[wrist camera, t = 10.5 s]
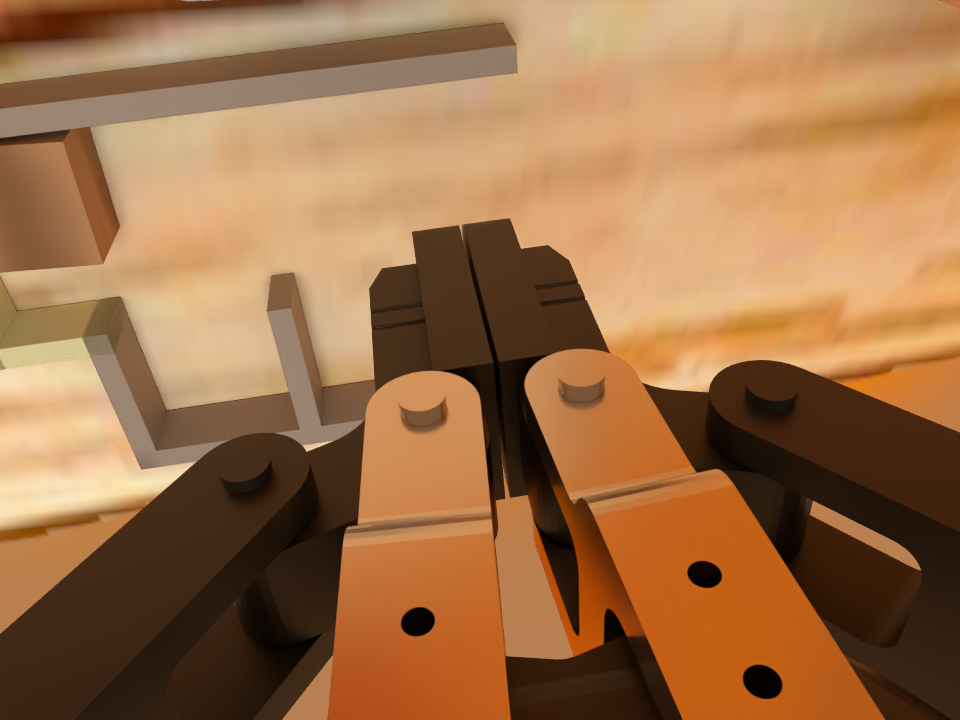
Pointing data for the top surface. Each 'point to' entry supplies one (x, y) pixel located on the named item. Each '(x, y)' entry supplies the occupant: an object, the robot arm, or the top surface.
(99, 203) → the walnut block
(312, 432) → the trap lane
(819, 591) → the robot arm
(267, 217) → the top surface
